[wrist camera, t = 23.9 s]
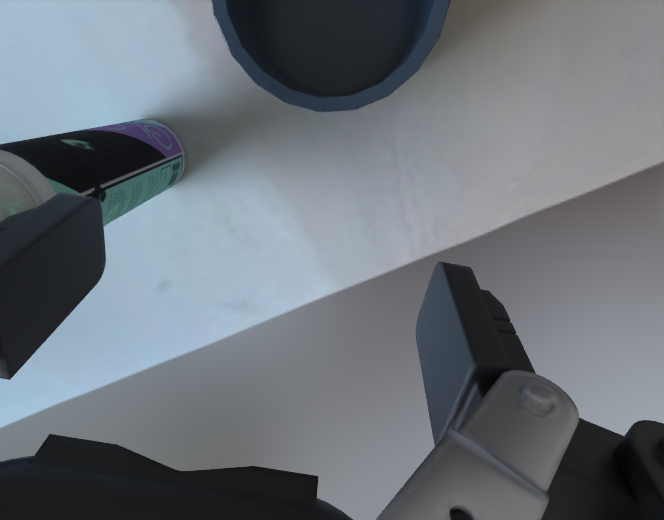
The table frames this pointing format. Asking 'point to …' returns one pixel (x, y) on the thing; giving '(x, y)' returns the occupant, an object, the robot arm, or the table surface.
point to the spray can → (92, 167)
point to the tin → (330, 46)
